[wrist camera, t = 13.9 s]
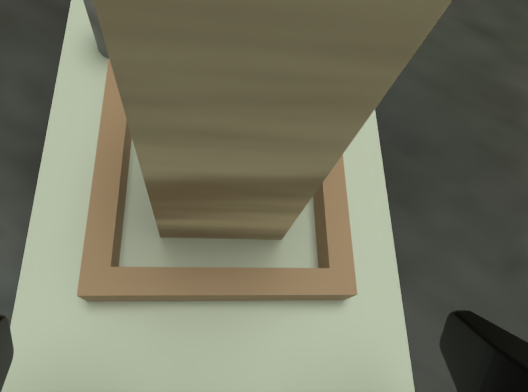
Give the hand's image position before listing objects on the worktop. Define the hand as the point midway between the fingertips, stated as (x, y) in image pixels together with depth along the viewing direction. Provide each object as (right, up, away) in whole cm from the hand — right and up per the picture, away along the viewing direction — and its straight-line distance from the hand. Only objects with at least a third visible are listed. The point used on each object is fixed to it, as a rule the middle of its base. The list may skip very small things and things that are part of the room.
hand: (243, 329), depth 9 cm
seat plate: (-2, +3, +11) cm, 11 cm away
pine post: (-1, +3, +10) cm, 10 cm away
